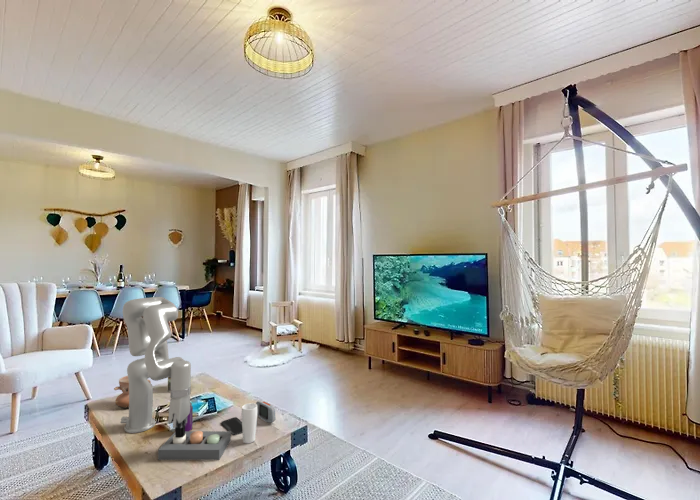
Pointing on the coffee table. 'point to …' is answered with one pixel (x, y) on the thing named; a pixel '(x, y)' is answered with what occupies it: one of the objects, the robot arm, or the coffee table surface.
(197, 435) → the button terracotta
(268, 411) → the handheld gaming console
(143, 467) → the coffee table surface
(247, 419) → the drinking glass
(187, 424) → the beverage can
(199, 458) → the grey slotted block
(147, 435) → the coffee table surface
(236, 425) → the phone
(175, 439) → the button ivory
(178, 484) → the coffee table surface
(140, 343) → the robot arm
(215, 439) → the button sage
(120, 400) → the ceramic jug
